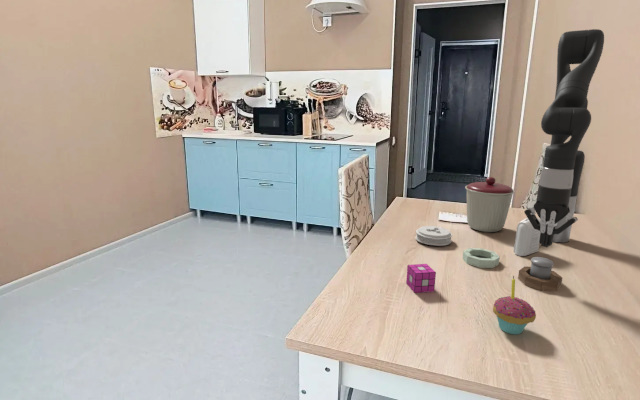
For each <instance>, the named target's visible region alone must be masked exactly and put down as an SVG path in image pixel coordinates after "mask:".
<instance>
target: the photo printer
mask: <svg viewBox="0 0 640 400" xmlns="http://www.w3.org/2000/svg"><path fill="white" fill-rule="evenodd" d="M537 219H538V221H539V222H540V218H539V217H537ZM515 233H516V234H515V238H514V239H515V240H514V246H513V253H514V254H515V255H516V256H519V257H526V256H529V255H532V254H534V253H537V252H538V251H539V248H540V242H539V240H540V234H541V233H540V231H539V230H537V229H534V228H533V226H532V224H531V223H530V221H529V219H528V218H527V217H526V218H524V219H522V220H520V221H519V222H518V223H517V226H516V231H515Z"/></svg>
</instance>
